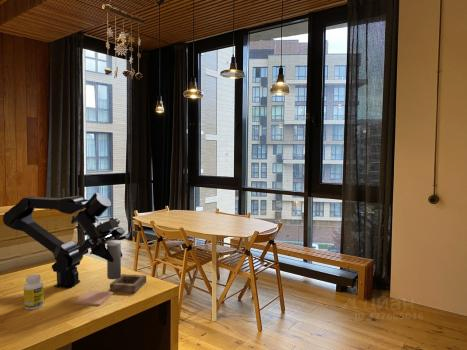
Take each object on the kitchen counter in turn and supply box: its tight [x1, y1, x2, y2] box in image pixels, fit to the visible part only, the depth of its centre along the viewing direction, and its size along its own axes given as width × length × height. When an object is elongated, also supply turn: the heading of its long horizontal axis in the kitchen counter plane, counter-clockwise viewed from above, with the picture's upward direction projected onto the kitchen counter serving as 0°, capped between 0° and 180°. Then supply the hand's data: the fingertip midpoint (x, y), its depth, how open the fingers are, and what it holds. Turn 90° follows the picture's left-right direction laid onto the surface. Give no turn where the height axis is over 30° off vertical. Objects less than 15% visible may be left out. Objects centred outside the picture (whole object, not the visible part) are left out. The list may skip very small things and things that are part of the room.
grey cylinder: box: [106, 239, 122, 280], centre depth 121 cm, size 4×4×13 cm
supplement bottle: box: [23, 273, 45, 310], centre depth 110 cm, size 5×5×10 cm
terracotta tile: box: [73, 289, 115, 307], centre depth 116 cm, size 9×9×1 cm
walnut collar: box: [109, 273, 147, 294], centre depth 126 cm, size 10×10×2 cm
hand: (117, 259), depth 121 cm, fingers closed on grey cylinder, 4 cm apart
